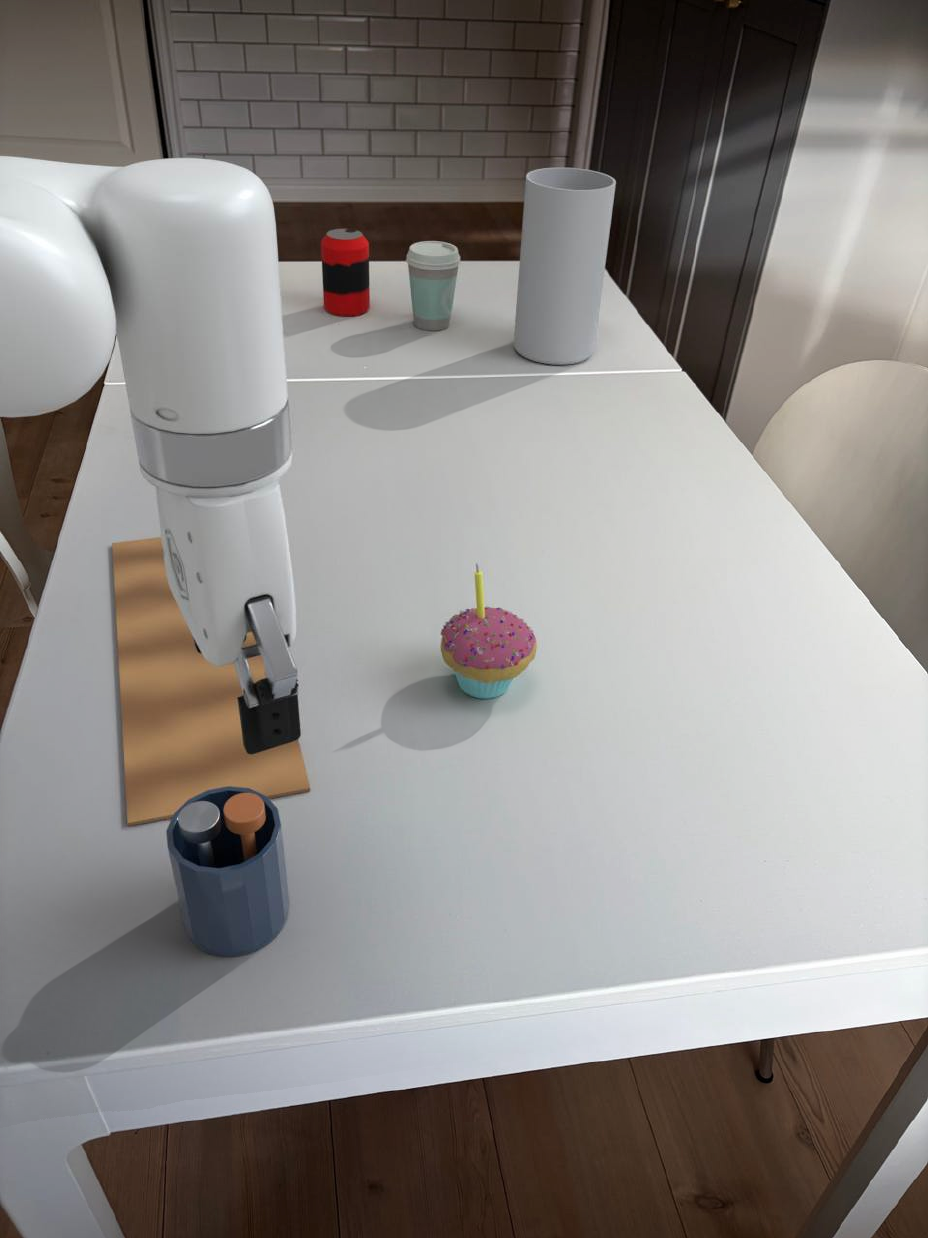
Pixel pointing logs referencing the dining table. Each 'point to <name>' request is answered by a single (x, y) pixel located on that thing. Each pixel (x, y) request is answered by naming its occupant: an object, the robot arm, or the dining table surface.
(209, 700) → the placemat
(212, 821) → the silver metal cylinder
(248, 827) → the tan cylinder
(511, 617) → the cupcake
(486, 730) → the dining table surface
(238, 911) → the cup
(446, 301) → the coffee cup
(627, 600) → the dining table surface
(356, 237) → the soda can
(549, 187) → the cylinder vase
